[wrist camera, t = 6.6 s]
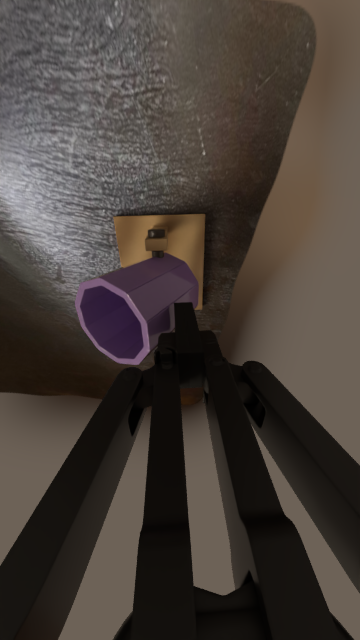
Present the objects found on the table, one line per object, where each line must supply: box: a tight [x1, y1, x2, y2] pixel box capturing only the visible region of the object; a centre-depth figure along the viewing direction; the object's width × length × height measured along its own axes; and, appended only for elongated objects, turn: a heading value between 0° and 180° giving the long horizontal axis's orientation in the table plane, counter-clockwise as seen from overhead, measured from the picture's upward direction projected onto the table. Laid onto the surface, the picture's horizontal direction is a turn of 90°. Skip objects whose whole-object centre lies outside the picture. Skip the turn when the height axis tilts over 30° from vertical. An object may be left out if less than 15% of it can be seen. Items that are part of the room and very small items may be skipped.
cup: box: [75, 251, 199, 365], centre depth 20 cm, size 8×9×9 cm
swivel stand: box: [114, 214, 205, 310], centre depth 26 cm, size 12×14×12 cm
